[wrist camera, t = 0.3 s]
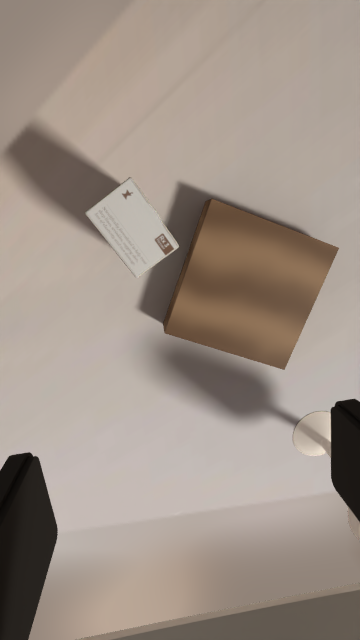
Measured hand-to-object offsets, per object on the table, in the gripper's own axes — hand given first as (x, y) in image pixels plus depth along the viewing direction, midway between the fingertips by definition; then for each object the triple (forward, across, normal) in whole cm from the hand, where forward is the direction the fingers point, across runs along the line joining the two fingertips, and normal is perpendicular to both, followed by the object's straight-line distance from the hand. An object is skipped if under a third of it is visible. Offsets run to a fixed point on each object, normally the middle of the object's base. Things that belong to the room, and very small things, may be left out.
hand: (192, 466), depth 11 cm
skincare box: (+29, +1, -8) cm, 30 cm away
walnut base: (+29, -9, 0) cm, 30 cm away
